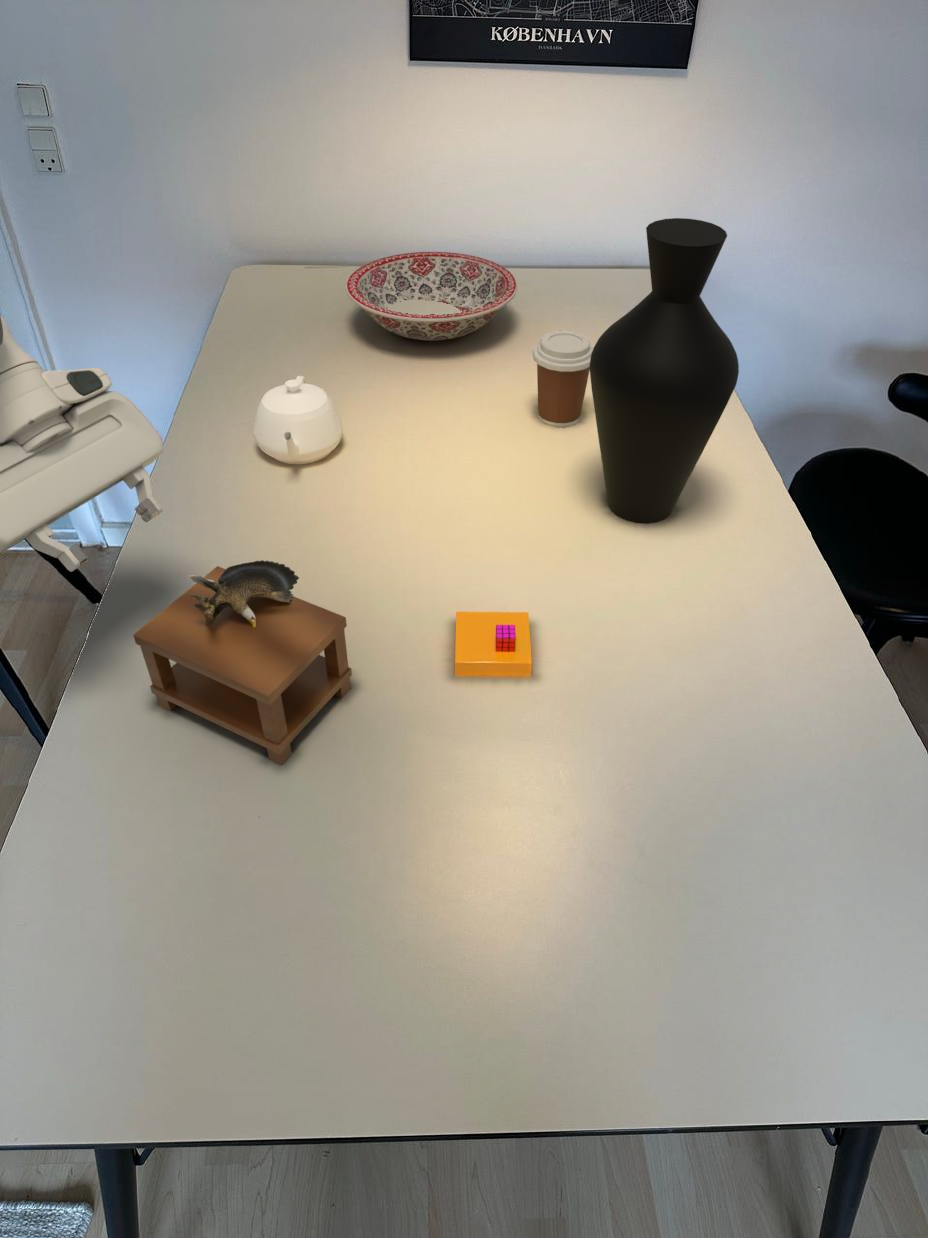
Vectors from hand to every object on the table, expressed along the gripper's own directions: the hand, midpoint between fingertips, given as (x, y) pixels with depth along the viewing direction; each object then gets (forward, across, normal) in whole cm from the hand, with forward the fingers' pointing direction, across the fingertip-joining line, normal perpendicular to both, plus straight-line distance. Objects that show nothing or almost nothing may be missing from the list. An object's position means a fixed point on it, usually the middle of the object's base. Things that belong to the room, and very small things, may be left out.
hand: (118, 540), depth 85 cm
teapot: (+2, +43, +20) cm, 47 cm away
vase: (+34, +54, -15) cm, 65 cm away
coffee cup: (+20, +70, -2) cm, 73 cm away
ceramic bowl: (-2, +87, +22) cm, 89 cm away
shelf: (+20, +2, +2) cm, 21 cm away
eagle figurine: (+13, +3, -5) cm, 14 cm away
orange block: (+32, +20, -12) cm, 40 cm away
